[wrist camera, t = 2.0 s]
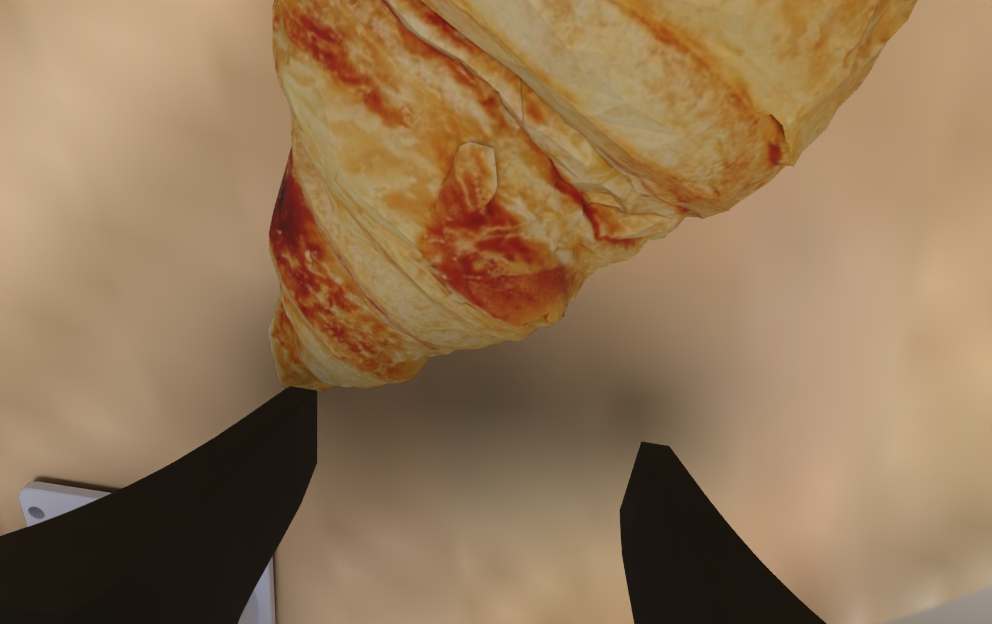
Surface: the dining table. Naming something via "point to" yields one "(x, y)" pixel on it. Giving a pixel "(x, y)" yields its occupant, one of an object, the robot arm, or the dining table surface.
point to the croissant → (522, 154)
